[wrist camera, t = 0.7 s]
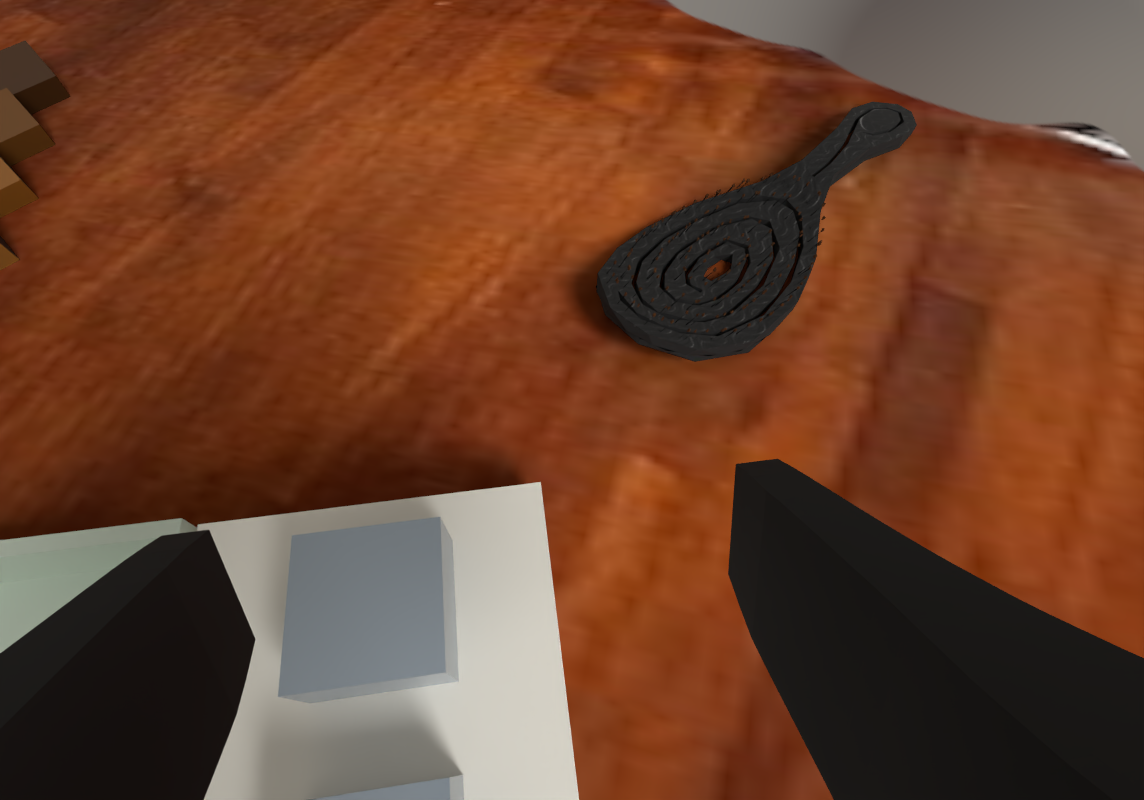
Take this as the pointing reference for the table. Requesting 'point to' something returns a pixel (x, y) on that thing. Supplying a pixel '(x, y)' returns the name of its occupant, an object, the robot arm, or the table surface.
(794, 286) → the hairbrush
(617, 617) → the table surface
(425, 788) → the squat square grey block
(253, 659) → the board
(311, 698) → the tile outer
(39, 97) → the pan flute
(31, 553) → the box
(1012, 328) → the table surface
